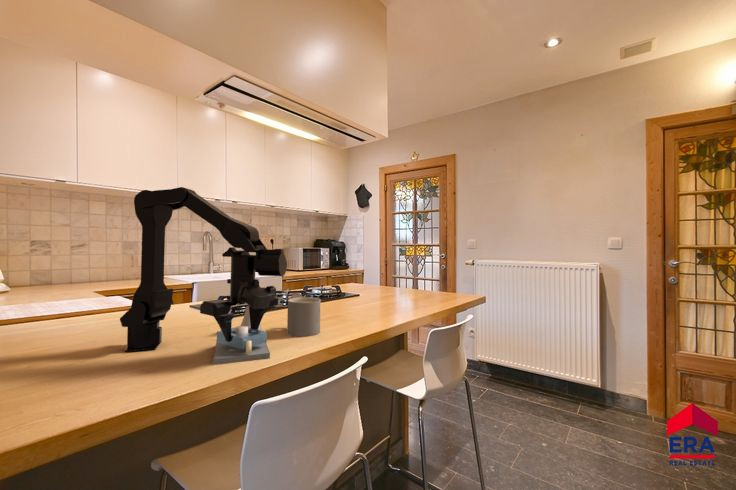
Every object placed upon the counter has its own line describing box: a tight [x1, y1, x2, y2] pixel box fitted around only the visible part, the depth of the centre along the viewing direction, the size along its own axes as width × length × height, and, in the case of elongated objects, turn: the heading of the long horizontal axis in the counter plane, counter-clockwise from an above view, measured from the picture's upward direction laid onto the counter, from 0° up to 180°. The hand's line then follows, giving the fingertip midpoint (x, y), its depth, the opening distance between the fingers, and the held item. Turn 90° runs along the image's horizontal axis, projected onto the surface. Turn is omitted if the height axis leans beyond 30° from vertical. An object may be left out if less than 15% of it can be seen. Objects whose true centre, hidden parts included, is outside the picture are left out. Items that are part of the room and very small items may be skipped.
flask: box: [240, 306, 263, 331], centre depth 99 cm, size 7×7×10 cm
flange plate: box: [216, 326, 268, 350], centre depth 80 cm, size 10×7×3 cm
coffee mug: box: [286, 297, 322, 338], centre depth 101 cm, size 13×10×10 cm
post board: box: [213, 325, 271, 365], centre depth 80 cm, size 12×14×6 cm
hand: (241, 338), depth 80 cm, fingers closed on flange plate, 7 cm apart
